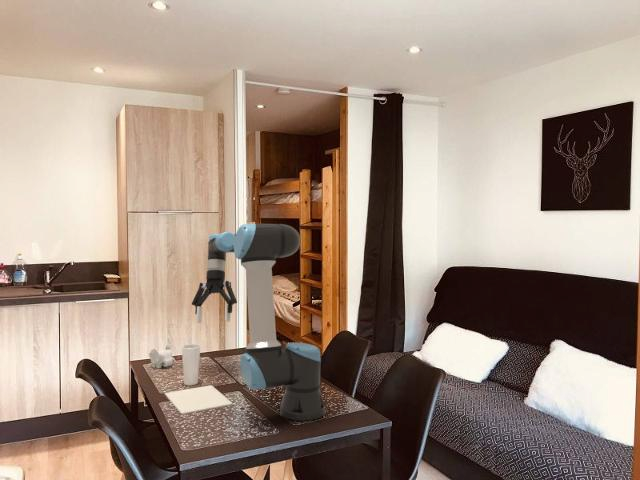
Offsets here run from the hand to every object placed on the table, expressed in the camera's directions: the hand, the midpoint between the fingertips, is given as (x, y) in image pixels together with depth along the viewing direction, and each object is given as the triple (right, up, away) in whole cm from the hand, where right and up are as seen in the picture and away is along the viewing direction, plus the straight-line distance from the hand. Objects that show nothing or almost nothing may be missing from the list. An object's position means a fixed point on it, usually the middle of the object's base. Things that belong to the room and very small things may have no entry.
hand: (212, 322), depth 203 cm
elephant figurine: (-25, -22, +15) cm, 37 cm away
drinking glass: (-7, -24, -7) cm, 26 cm away
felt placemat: (0, -24, -24) cm, 34 cm away
